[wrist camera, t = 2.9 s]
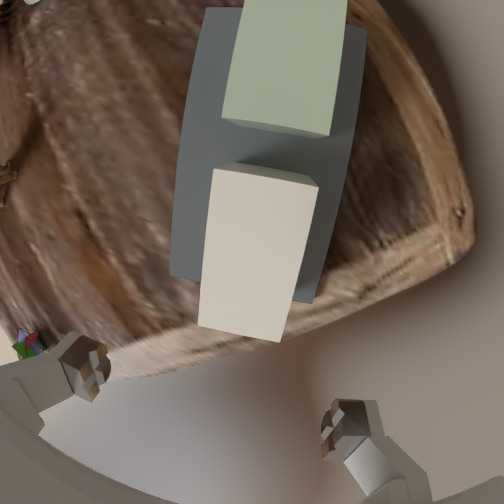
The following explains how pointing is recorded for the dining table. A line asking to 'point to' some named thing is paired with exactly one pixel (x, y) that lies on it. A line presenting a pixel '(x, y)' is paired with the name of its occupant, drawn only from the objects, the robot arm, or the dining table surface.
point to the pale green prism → (286, 66)
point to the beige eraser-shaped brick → (254, 248)
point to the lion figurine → (6, 178)
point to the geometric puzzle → (28, 345)
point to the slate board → (257, 149)
